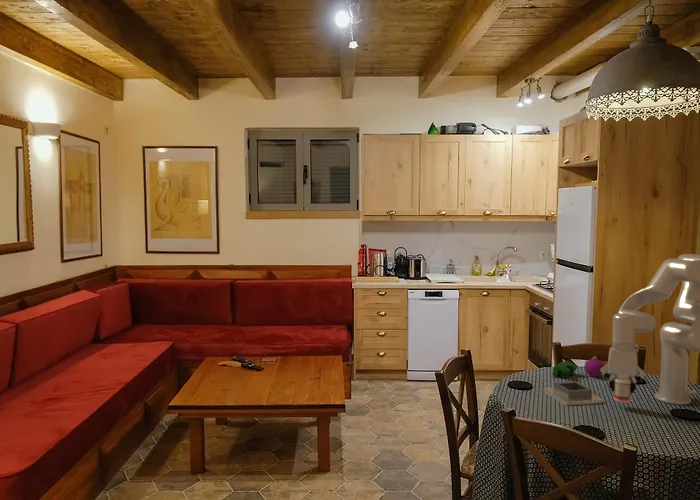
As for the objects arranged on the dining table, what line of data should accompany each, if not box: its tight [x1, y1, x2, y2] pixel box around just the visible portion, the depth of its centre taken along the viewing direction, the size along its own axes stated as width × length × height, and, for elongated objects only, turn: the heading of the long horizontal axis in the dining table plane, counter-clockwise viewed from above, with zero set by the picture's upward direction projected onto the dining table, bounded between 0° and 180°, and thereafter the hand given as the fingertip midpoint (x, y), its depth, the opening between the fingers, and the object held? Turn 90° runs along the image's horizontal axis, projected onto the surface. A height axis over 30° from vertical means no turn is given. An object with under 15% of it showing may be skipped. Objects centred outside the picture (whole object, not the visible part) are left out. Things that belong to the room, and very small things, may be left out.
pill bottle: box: [612, 373, 632, 403], centre depth 204 cm, size 6×6×11 cm
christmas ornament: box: [584, 356, 605, 378], centre depth 243 cm, size 8×8×10 cm
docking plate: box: [543, 381, 603, 407], centre depth 216 cm, size 16×16×4 cm
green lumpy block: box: [551, 360, 578, 379], centre depth 243 cm, size 12×6×9 cm, turn 126°
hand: (622, 390), depth 204 cm, fingers closed on pill bottle, 6 cm apart
